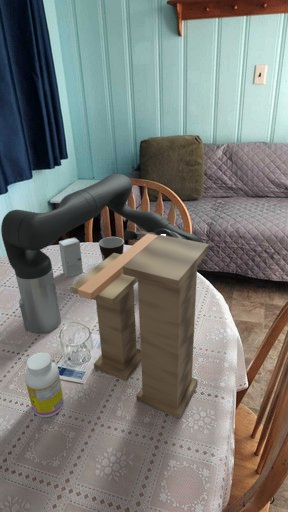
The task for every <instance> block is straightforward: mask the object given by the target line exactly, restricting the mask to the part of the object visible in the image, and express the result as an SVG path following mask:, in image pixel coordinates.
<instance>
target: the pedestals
mask: <svg viewBox="0 0 288 512" xmlns="http://www.w3.org/2000/svg"><path fill="white" fill-rule="evenodd" d="M209 248H210V244H209V243H204V242H202V243H200V242H195V241H190V240H185V239H180V238H175V237H169V236H164V235H159V236H158V237H157V238H156V239H154V240H153V241H152V242H151V243H150V244H149V245H147V246H146V247H145V248H144V249H143V250H142V251H140V252H139V253H138V254H137V255H136V256H135V257H133V258H132V259H131V260H130V261H129V262H128V263H126V264H125V265H124V266H123V273H122V274H121V275H119V276H118V277H117V278H116V279H115V280H114V281H113V282H111V283H110V284H109V285H108V286H107V287H106V288H105V289H103V290H102V291H101V292H100V293H99V294H98V295H97V296H96V297H94V298H93V299H92V301H93V300H94V301H95V306H96V313H97V314H96V315H97V323H98V325H97V326H98V333H99V340H100V341H99V342H100V352H101V355H100V356H99V357H98V359H97V360H96V361H95V362H94V363H93V369H94V370H97V371H100V372H102V373H105V374H107V375H110V376H112V377H115V378H117V379H120V380H122V381H124V382H128V380H130V378H131V377H132V375H133V374H134V373H135V371H136V370H137V368H139V366H140V365H141V388H140V389H139V391H137V394H136V396H135V398H136V401H137V402H139V403H142V404H143V405H146V406H148V407H151V408H153V409H155V410H157V411H160V412H163V413H165V414H167V415H169V416H171V417H174V418H176V419H178V420H180V419H181V417H182V415H183V413H184V411H185V409H186V407H187V406H188V403H189V401H190V399H191V398H192V396H193V394H194V391H195V390H196V387H197V386H198V382H199V381H198V379H197V378H194V377H193V362H194V359H193V358H194V341H195V340H194V339H195V338H194V337H195V323H196V322H195V321H196V319H195V317H196V297H197V278H198V275H197V274H198V265H199V264H200V263H201V261H202V260H203V259H204V258H205V257H206V255H208V253H209V250H210V249H209ZM120 255H121V254H116V253H113V254H112V255H110V256H109V257H108V258H107V259H105V260H104V261H103V260H102V262H100V263H99V264H97V265H96V266H94V267H93V268H92V269H91V270H90V271H88V272H86V274H85V275H83V276H82V277H80V278H79V279H78V280H76V282H74V283H73V284H72V285H70V293H71V294H73V295H76V296H79V295H78V289H79V288H80V287H81V286H83V285H84V284H85V283H86V282H88V281H89V280H90V279H91V278H93V277H94V276H95V275H96V274H98V273H99V272H100V271H101V270H103V269H104V268H105V267H106V266H108V265H109V264H110V263H111V262H113V261H114V260H115V259H116V258H118V257H119V256H120ZM136 284H137V295H138V297H137V298H138V315H139V317H138V318H139V338H140V339H139V342H140V349H138V347H137V345H138V344H137V327H136V309H135V307H136V306H135V288H134V287H135V286H136Z"/></svg>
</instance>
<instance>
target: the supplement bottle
mask: <svg viewBox="0 0 288 512" xmlns="http://www.w3.org/2000/svg"><path fill="white" fill-rule="evenodd" d="M26 367H27V370H26V372H25V374H24V382H25V384H26V388H27V392H28V397H29V400H30V405H31V408H32V412H33V413H34V414H35V415H36V416H37V417H40V418H50V417H53V416H55V415H57V414H58V413H59V412H60V411H61V410H62V408H63V407H64V403H65V396H64V391H63V387H62V381H61V376H60V371H59V367H58V365H57V364H56V363H54V361H52V356H51V355H50V354H49V353H47V352H37V353H33V354H32V355H31V356H30V357H29V358H28V359H27V360H26Z"/></svg>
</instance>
